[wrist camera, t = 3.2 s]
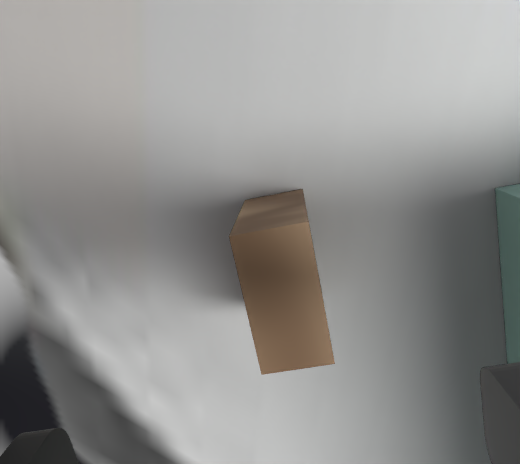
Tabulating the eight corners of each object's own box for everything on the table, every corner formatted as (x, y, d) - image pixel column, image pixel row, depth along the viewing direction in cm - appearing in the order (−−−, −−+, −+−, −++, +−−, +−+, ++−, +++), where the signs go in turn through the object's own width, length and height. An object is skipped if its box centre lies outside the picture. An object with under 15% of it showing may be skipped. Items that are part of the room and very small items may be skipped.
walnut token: (302, 188, 19) (308, 221, 14) (322, 295, 20) (334, 363, 15) (244, 199, 19) (229, 236, 14) (268, 304, 20) (261, 374, 15)
